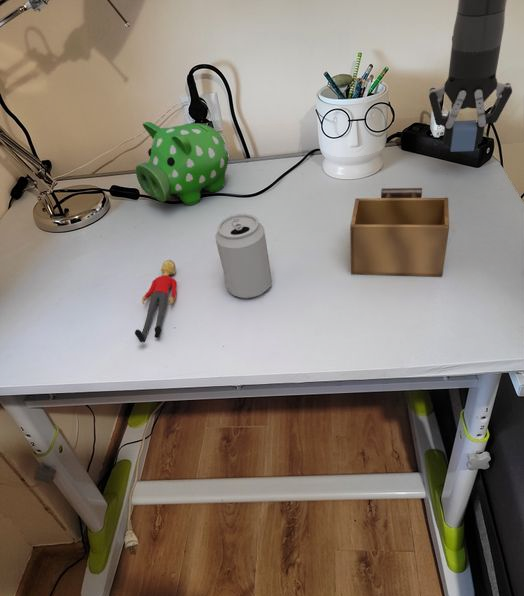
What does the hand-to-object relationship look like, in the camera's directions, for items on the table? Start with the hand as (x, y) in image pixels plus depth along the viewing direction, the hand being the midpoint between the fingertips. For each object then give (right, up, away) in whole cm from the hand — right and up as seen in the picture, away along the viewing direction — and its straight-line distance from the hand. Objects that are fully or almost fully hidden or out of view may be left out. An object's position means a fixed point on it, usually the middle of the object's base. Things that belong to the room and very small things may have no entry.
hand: (462, 145), depth 94 cm
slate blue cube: (0, 0, 0) cm, 0 cm away
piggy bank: (-52, -5, +14) cm, 54 cm away
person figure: (-54, -31, -11) cm, 63 cm away
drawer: (-17, -23, -17) cm, 34 cm away
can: (-39, -28, -11) cm, 49 cm away
